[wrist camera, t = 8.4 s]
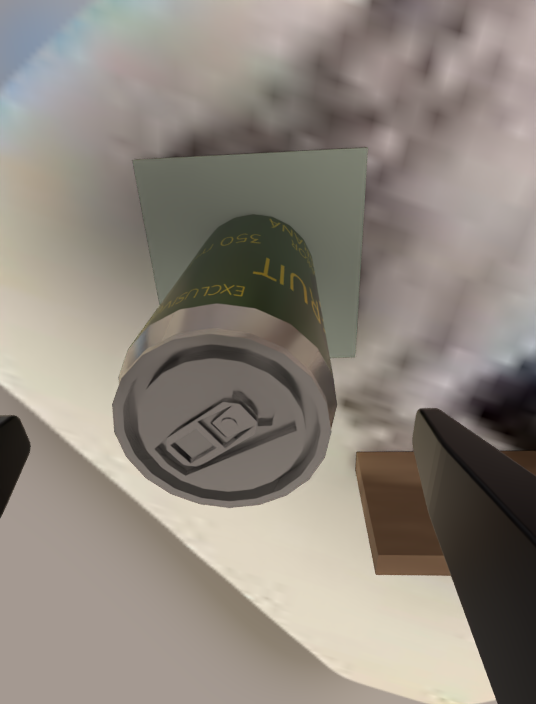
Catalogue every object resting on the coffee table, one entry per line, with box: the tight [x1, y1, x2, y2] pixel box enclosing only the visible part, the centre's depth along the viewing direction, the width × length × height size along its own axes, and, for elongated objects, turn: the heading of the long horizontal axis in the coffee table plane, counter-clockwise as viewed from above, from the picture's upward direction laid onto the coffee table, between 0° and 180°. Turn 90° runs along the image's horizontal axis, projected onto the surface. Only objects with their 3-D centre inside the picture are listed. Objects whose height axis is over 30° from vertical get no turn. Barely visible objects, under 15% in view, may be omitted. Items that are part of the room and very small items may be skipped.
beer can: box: [112, 214, 337, 508], centre depth 15 cm, size 5×5×12 cm
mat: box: [132, 147, 368, 358], centre depth 20 cm, size 10×10×1 cm
